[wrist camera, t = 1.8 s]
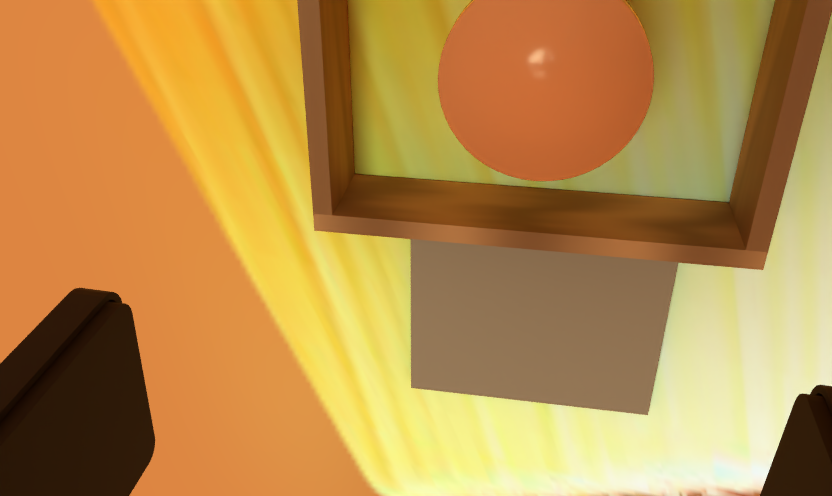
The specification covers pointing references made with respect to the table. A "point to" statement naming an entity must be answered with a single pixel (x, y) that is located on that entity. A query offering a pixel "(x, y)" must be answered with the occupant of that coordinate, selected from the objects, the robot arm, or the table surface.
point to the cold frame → (563, 209)
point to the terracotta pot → (545, 84)
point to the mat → (538, 324)
